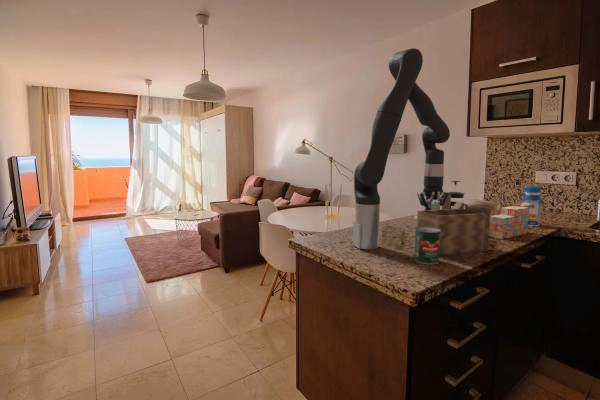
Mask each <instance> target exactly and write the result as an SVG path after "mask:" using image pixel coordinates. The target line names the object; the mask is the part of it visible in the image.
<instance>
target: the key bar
mask: <svg viewBox="0 0 600 400" xmlns="http://www.w3.org/2000/svg"><path fill="white" fill-rule="evenodd" d="M468 206H475V207H480V208H485V209H491V211H497V210H498V211H501V203H500V202H495V201H489V200H483V199H477V198H469V199H468Z"/></svg>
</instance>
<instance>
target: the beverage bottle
mask: <svg viewBox="0 0 600 400" xmlns="http://www.w3.org/2000/svg"><path fill="white" fill-rule="evenodd" d="M541 190H542V187H541V186H537V185H526V186H524V190H523V192H524V193H525V194H524V195H523V196H522V198H521V200H522V202H521V203H520V207H528V208H529V218H528V226H527V227H533V226H535V227H540V219H541V210H542V200H543V199H542V197H541V195H540V194H541V192H542V191H541Z"/></svg>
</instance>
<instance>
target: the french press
mask: <svg viewBox="0 0 600 400" xmlns="http://www.w3.org/2000/svg"><path fill="white" fill-rule="evenodd" d="M451 182H452V183H454V191H448V192H447V191H446V192H447V193H448V194H449V195H451V199H453V201H451V202H450V209H452V207H453V206H454V205H455V204H456V202H457V201H456V199H463V198H464V197H465V193H464V192H461V191H456V190H457V189H456V188H457V183H461V181H460V180H451ZM466 206H469V204H467V203H465V202H463V209H466Z"/></svg>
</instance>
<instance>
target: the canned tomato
mask: <svg viewBox="0 0 600 400" xmlns="http://www.w3.org/2000/svg"><path fill="white" fill-rule="evenodd" d="M440 231H441V230H440V229H438V228H433V227H417V226H416V227H415V232H414V233H415V235H414V237H415V238H414V253H413V254H414V258H413V260H414V261H415V262H416V263H419V264H424V265H437V264H439V262H440V256H439V248H440Z"/></svg>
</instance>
